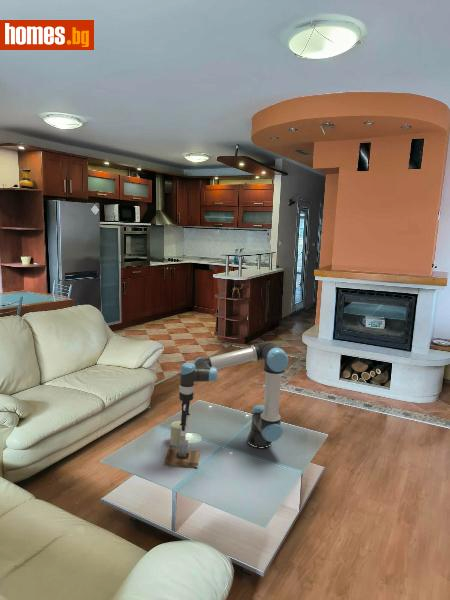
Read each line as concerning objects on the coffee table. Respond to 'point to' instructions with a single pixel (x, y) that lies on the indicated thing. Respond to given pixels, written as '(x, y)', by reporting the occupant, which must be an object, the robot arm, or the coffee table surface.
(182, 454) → the grey square block
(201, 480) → the coffee table surface
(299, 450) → the coffee table surface
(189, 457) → the jig
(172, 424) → the can
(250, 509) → the coffee table surface
